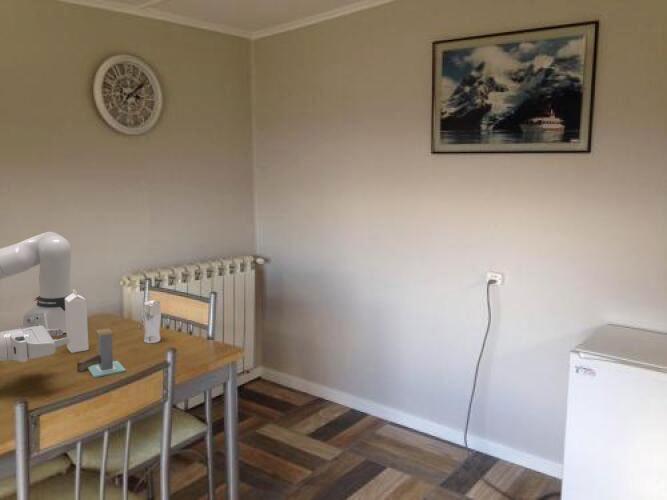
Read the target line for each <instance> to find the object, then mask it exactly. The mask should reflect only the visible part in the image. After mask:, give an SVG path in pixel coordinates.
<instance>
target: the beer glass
mask: <svg viewBox="0 0 667 500" xmlns="http://www.w3.org/2000/svg"><path fill="white" fill-rule="evenodd" d="M141 304H142V305H141V318H142V323H143V328H144V337H143V338H144V339H143V342H144V343H146V344H155V343H159V342H160V341H161V340H162V338H161V335H160V334H161V333H160V328H161V322H162V321H161V320H162V319H161V318H162V306H161V301H158V300H147V301H143V302H142V303H141Z"/></svg>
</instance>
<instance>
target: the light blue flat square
mask: <svg viewBox="0 0 667 500" xmlns="http://www.w3.org/2000/svg"><path fill="white" fill-rule="evenodd" d="M87 370H88V372H89V373H90V375H92V377H93V378H99V377H103V376H104V377H105V376H111V375H115V374H119V373H124V372H127V371H126V370H127V369H126V368H125V367H124V366H123V365H122V364H121V363H120V362H119V360H113V369H107V370H101V369H100V368H99V363H98V364H96V365H91V366H90V367H88V369H87Z"/></svg>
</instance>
